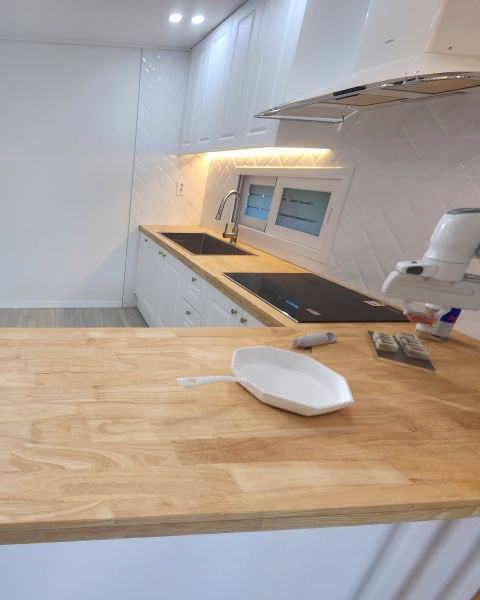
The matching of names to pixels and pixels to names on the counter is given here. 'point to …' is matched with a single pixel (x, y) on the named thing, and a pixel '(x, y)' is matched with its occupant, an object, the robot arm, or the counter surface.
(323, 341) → the torpedo
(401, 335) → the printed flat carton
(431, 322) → the s tile
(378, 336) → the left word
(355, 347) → the counter surface
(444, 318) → the beverage can
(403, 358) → the letter board
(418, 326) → the sprinkles bottle
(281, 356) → the pan
